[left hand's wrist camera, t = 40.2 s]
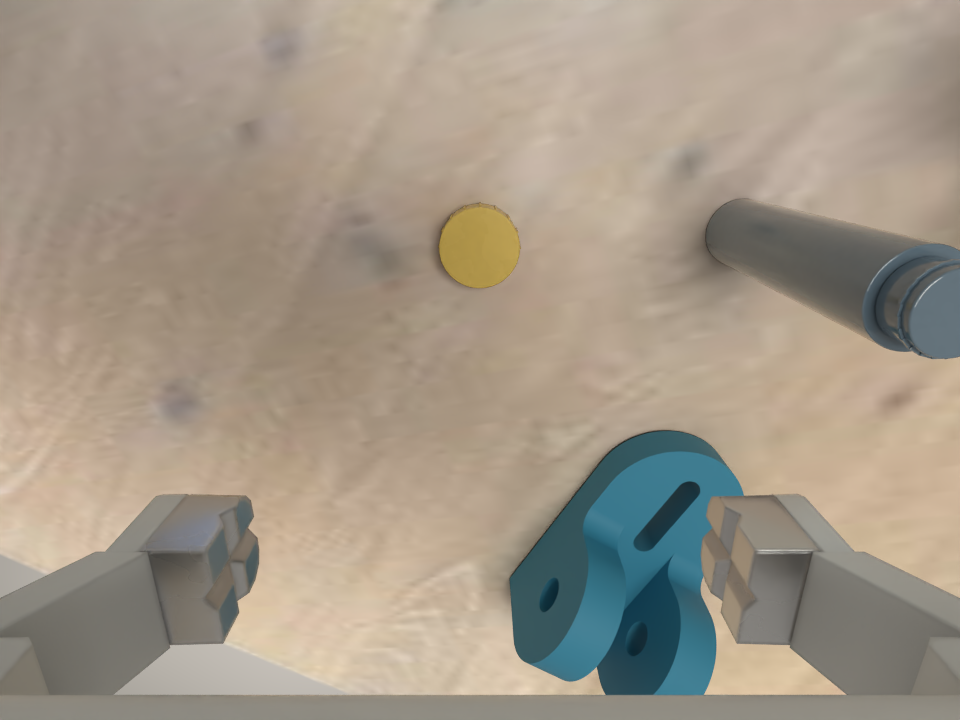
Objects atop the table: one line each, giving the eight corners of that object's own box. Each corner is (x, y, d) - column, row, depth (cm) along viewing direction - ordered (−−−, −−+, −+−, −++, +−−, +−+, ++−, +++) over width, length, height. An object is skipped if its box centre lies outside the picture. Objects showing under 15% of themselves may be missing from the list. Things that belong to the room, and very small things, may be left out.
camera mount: (615, 631, 50) (648, 753, 40) (509, 578, 48) (517, 693, 38) (757, 472, 44) (837, 568, 34) (645, 405, 42) (695, 487, 33)
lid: (508, 287, 40) (510, 296, 37) (434, 272, 39) (431, 279, 37) (526, 212, 38) (529, 216, 36) (448, 195, 37) (447, 198, 35)
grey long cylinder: (719, 276, 39) (914, 390, 22) (695, 220, 38) (881, 292, 20) (781, 244, 38) (1034, 335, 21) (758, 185, 37) (1007, 230, 20)
